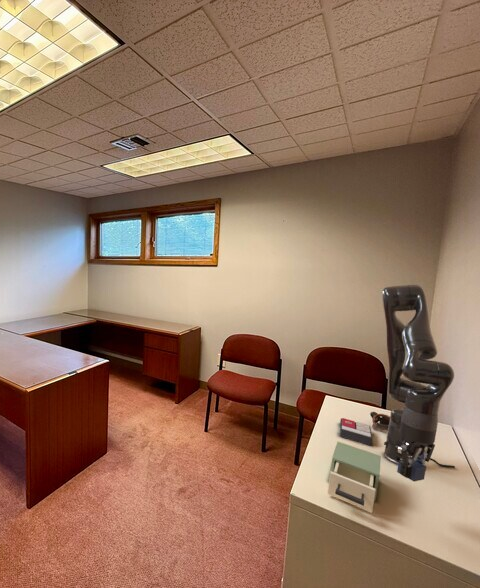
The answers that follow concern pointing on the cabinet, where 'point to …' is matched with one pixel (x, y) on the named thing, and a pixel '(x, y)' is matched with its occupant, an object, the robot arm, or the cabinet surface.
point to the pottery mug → (382, 419)
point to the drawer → (352, 486)
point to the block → (415, 471)
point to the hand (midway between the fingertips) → (410, 474)
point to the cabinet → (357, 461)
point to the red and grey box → (355, 431)
